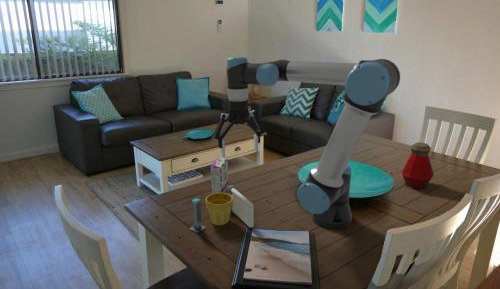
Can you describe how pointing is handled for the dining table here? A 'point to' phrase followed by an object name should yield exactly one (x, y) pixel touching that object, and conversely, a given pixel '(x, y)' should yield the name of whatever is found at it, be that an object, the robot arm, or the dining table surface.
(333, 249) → the dining table surface
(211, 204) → the plant pot
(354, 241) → the dining table surface
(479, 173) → the dining table surface
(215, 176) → the candy bar box
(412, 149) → the bottle
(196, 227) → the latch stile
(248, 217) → the white rounded panel
